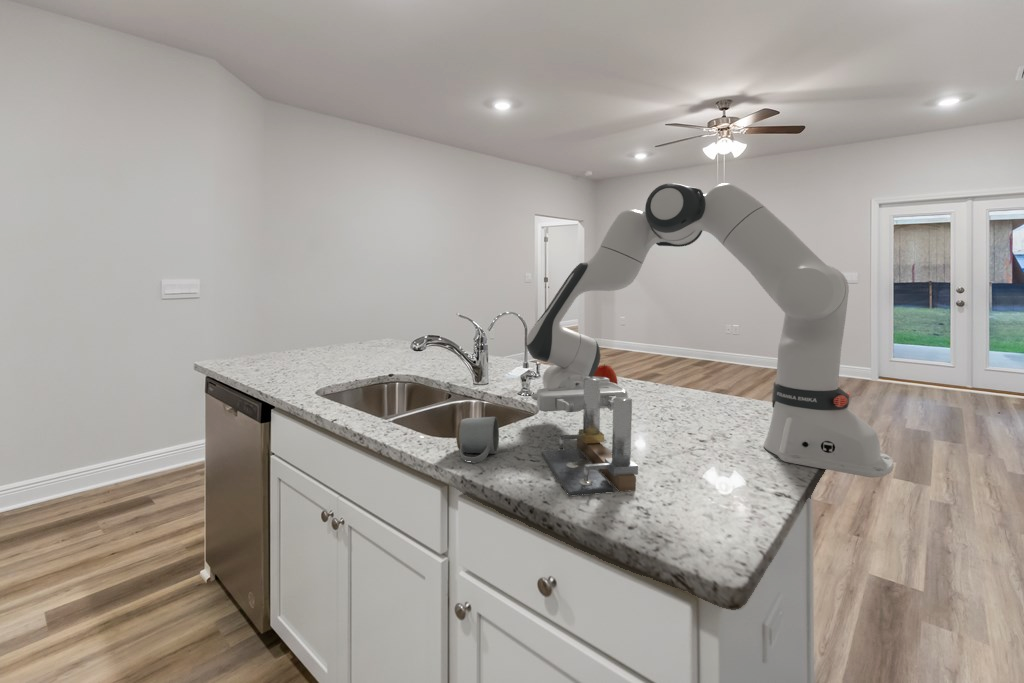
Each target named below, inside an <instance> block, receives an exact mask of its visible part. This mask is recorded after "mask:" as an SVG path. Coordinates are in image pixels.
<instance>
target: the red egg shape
mask: <svg viewBox="0 0 1024 683" xmlns="http://www.w3.org/2000/svg"><path fill="white" fill-rule="evenodd" d="M593 376H595V377H606V378H608V379H609V381H610V382H612V383H615V384H617V385H619V384H618V377H617V374H616V373H615V371H614V369H613V368H612V366H609V365H606V363H604V364H603V365H598V368H597V370H596V372H595V374H594V375H593Z"/></svg>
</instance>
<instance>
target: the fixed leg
mask: <svg viewBox="0 0 1024 683" xmlns="http://www.w3.org/2000/svg"><path fill="white" fill-rule="evenodd" d="M632 411H633V399H631V398H629V397H628V398H624V397H618V398H614V399H613V410H612V446H611V447H612V448H611V449H612V450H611V454H612V458H605V463H601V464H594V463H592V464H588V465H584V481H588V470H596V469H597V470H599V469H607V470H608V471H609V472H610V473H611V474H612V475H613V476H626V475H635V476H636V475H639V465H638V464H636V462H634V461H633V460H632V459H631V456H632V454H631V453H632V450H631V449H632V423H633V422H632V420H633V419H632V414H633V413H632Z"/></svg>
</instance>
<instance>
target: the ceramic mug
mask: <svg viewBox="0 0 1024 683" xmlns="http://www.w3.org/2000/svg"><path fill="white" fill-rule="evenodd" d="M499 428H500V427H499V421H498V418H497V417H496V416H483V417H467V418H463V419H460V420H459V421H458V423H457V426H456V446H457V449H458V450H459V454H460V458H461V460H462V461H464V460H466V461H471V462H478V463H480V462H482V461H484V460H485V459H486V458H487V456H488V455H496V454H497V453H498V451H499V444H500V430H499ZM465 452H466V453H467V454H479V455H477V456H467V455H465V454H464V453H465ZM466 461H465V462H466Z"/></svg>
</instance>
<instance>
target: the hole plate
mask: <svg viewBox="0 0 1024 683" xmlns="http://www.w3.org/2000/svg"><path fill="white" fill-rule="evenodd" d="M540 451H541V454H542V455H541V456H542V458H543V457H544V458H543V459H544V461H545V460H546V461H545V462H546V463H547V465H548V467H549V468H550V470H551V471H552V472H553V474H554V476H555V477H556V479H557V478H558V479H557V480H558V482H559V481H560V482H559V483H560V485H561V484H562V485H561V486H562V488H563V487H564V488H563V489H564V491H565V490H566V491H565V492H566V494H567V493H568V494H567V495H568V497H571V496H570V495H577V496H585V495H584V494H589V495H596V494H595V493H600V494H607V493H606V492H612V493H615V487H614V485H613V484H612V483H611V482H610V481H609V480H608V479H607V478H606V477H605V476H604V474H603V473H602V472H601V471H600V470H599V469H596V470H588V481H584V465H588V464H593V462H592V461H591V460H590V459H589V458H588V457H587V456H586V455H585V454H584V452H583V451H582V450H581V449H580V448H579V447H577V448H563V449H562V450H561V449H552V450H551V449H549V450H548V449H547V450H540ZM582 494H583V495H582Z"/></svg>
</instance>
